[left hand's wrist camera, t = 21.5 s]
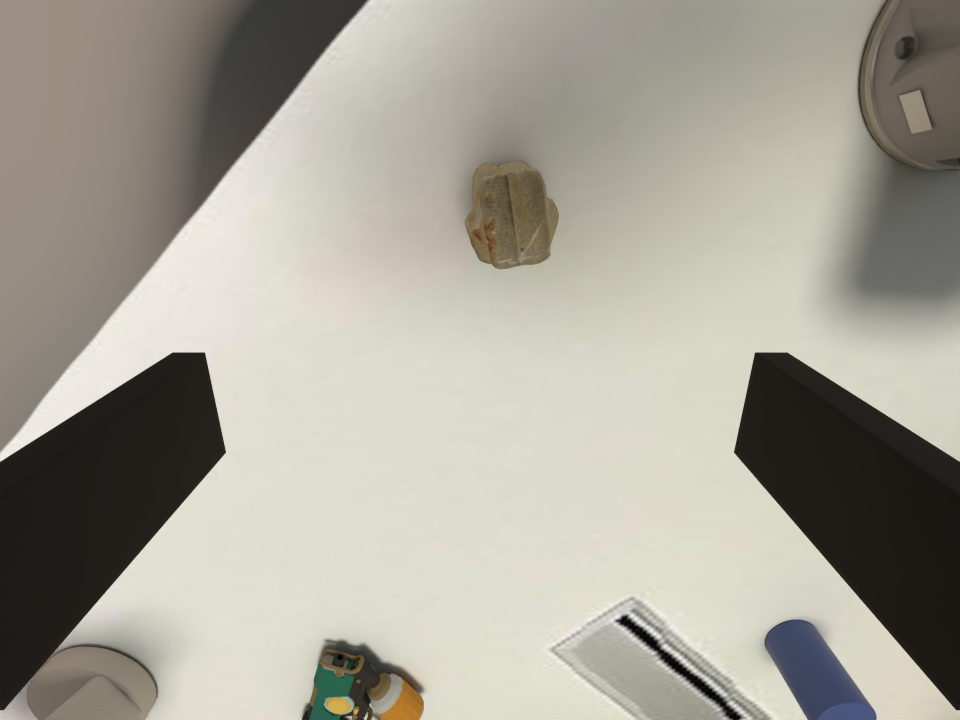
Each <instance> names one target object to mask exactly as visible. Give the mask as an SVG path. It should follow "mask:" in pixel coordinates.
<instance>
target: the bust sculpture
mask: <svg viewBox="0 0 960 720" xmlns="http://www.w3.org/2000/svg"><path fill="white" fill-rule="evenodd" d="M27 701H28V705H29V707H30V709H31V711H32V712H33V714H34V715H35V716H36V717H37V719H38V720H145V719H146V717H147V716H148V714H149V712H150V711H151V709H152V707H153V706H154V704H155V701H156V687H155V684H154V682H153V680H152V678H151V677H150V675H149V674H148V673H147V672H146V671H145V670H144V669H143V668H142V667H141V666H140V665H139V664H137V663H136V662H135V661H133V660H132V659H130V658H128V657H126V656H124V655H122V654H120V653H117V652H114V651H111V650H108V649H103V648H98V647H75V648H70V649H66V650H64V651H61V652H59V653H58V654H56V655H55V656H53V657H52V658H51V659H50V660H49V661H48V663H47V664H46V665H45V666H44V667H43V668H42V670H41V671H40V672H39V673H38V674H37V675H36V677H35V678H34V679H33V680H32V681H31V683H30V684H29V686H28V689H27Z"/></svg>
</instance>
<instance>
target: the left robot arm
mask: <svg viewBox="0 0 960 720" xmlns="http://www.w3.org/2000/svg"><path fill="white" fill-rule="evenodd" d="M860 96H861V105H862V111H863V114H864V118H865V121H866V123H867V126H868V128H869V130H870V132H871V134H872V136H873V138H874V139H875V140H876V142H877V143H878V144H879V145H880V147H881V148H882V149H883V150H884V151H885V152H887V153H888V154H889V155H890V156H892V157H893V158H895V159H896V160H898V161H900V162H902V163H904V164H907V165H909V166H913V167H916V168H921V169H929V170H960V0H888V2H887V3H886V5H885V6H884V8H883V10H882V12H881V14H880V15H879V17H878V19H877V21H876V23H875V26H874V28H873V30H872V32H871V35H870V38H869V40H868V43H867V47H866V50H865V54H864V58H863V63H862V69H861V77H860ZM225 453H226V451H225V446H224V441H223V436H222V432H221V427H220V422H219V417H218V413H217V408H216V403H215V398H214V394H213V389H212V384H211V379H210V375H209V370H208V365H207V360H206V356H205V353H171V354H170V355H168V356H167V357H165V358H163V359H162V360H160V361H159V362H157V363H156V364H154V365H152V366H151V367H149V368H148V369H146V370H145V371H143V372H141V373H140V374H138V375H137V376H135V377H134V378H132V379H130V380H129V381H127V382H126V383H124V384H122V385H121V386H119V387H118V388H116V389H115V390H113V391H111V392H110V393H108V394H107V395H105V396H104V397H102V398H100V399H99V400H97V401H96V402H94V403H92V404H91V405H89V406H88V407H86V408H85V409H83V410H81V411H80V412H78V413H77V414H75V415H74V416H72V417H70V418H69V419H67V420H66V421H64V422H62V423H61V424H59V425H58V426H56V427H55V428H53V429H51V430H50V431H48V432H47V433H45V434H44V435H42V436H40V437H39V438H37V439H36V440H34V441H32V442H31V443H29V444H28V445H26V446H25V447H23V448H21V449H20V450H18V451H17V452H15V453H14V454H12V455H10V456H9V457H7V458H6V459H4V460H3V461H1V462H0V710H4V709H5V708H6V707H7V706H8V704H9V703H10V702H11V701H12V700H13V699H14V698H15V696H16V695H17V694H18V693H19V692H20V691H21V689H22V688H23V687H24V686H25V685H26V684H27V682H28V681H29V680H30V679H31V678H32V677H33V676H34V674H35V673H36V672H37V671H38V670H39V669H40V667H41V666H42V665H43V664H44V663H45V662H46V660H47V659H48V658H49V657H50V656H51V655H52V653H53V652H54V651H55V650H56V649H57V648H58V647H59V645H60V644H61V643H62V642H63V641H64V640H65V638H66V637H67V636H68V635H69V634H70V633H71V631H72V630H73V629H74V628H75V627H76V626H77V625H78V623H79V622H80V621H81V620H82V619H83V618H84V616H85V615H86V614H87V613H88V612H89V611H90V609H91V608H92V607H93V606H94V605H95V604H96V602H97V601H98V600H99V599H100V598H101V597H102V596H103V594H104V593H105V592H106V591H107V590H108V589H109V587H110V586H111V585H112V584H113V583H114V582H115V580H116V579H117V578H118V577H119V576H120V575H121V574H122V572H123V571H124V570H125V569H126V568H127V567H128V565H129V564H130V563H131V562H132V561H133V560H134V558H135V557H136V556H137V555H138V554H139V553H140V551H141V550H142V549H143V548H144V547H145V546H146V545H147V543H148V542H149V541H150V540H151V539H152V538H153V536H154V535H155V534H156V533H157V532H158V531H159V529H160V528H161V527H162V526H163V525H164V524H165V523H166V521H167V520H168V519H169V518H170V517H171V516H172V514H173V513H174V512H175V511H176V510H177V509H178V507H179V506H180V505H181V504H182V503H183V502H184V500H185V499H186V498H187V497H188V496H189V495H190V494H191V492H192V491H193V490H194V489H195V488H196V487H197V485H198V484H199V483H200V482H201V481H202V480H203V478H204V477H205V476H206V475H207V474H208V473H209V472H210V470H211V469H212V468H213V467H214V466H215V465H216V463H217V462H218V461H219V460H220V459H221V458H222V456H223V455H224V454H225ZM734 453H735V454H736V455H737V456H738V458H739V459H740V460H741V461H742V462H743V463H744V465H745V466H746V467H747V468H748V469H749V470H750V472H751V473H752V474H753V475H754V476H755V477H756V478H757V480H758V481H759V482H760V483H761V484H762V485H763V487H764V488H765V489H766V490H767V491H768V492H769V494H770V495H771V496H772V497H773V498H774V499H775V500H776V502H777V503H778V504H779V505H780V506H781V507H782V509H783V510H784V511H785V512H786V513H787V514H788V516H789V517H790V518H791V519H792V520H793V521H794V523H795V524H796V525H797V526H798V527H799V528H800V529H801V531H802V532H803V533H804V534H805V535H806V536H807V538H808V539H809V540H810V541H811V542H812V543H813V545H814V546H815V547H816V548H817V549H818V550H819V551H820V553H821V554H822V555H823V556H824V557H825V558H826V560H827V561H828V562H829V563H830V564H831V565H832V567H833V568H834V569H835V570H836V571H837V572H838V574H839V575H840V576H841V577H842V578H843V579H844V580H845V582H846V583H847V584H848V585H849V586H850V587H851V589H852V590H853V591H854V592H855V593H856V594H857V596H858V597H859V598H860V599H861V600H862V601H863V602H864V604H865V605H866V606H867V607H868V608H869V609H870V611H871V612H872V613H873V614H874V615H875V616H876V618H877V619H878V620H879V621H880V622H881V623H882V625H883V626H884V627H885V628H886V629H887V630H888V631H889V633H890V634H891V635H892V636H893V637H894V638H895V640H896V641H897V642H898V643H899V644H900V645H901V647H902V648H903V649H904V650H905V651H906V652H907V653H908V655H909V656H910V657H911V658H912V659H913V660H914V662H915V663H916V664H917V665H918V666H919V667H920V669H921V670H922V671H923V672H924V673H925V674H926V676H927V677H928V678H929V679H930V680H931V681H932V682H933V684H934V685H935V686H936V687H937V688H938V689H939V691H940V692H941V693H942V694H943V695H944V696H945V698H946V699H947V700H948V701H949V702H950V703H951V705H952V706H953V707H954V708H955V709H956V710H960V462H959V461H957V460H956V459H954V458H953V457H951V456H950V455H948V454H946V453H945V452H943V451H942V450H940V449H939V448H937V447H935V446H934V445H932V444H931V443H929V442H928V441H926V440H924V439H923V438H921V437H920V436H918V435H916V434H915V433H913V432H912V431H910V430H909V429H907V428H905V427H904V426H902V425H901V424H899V423H898V422H896V421H894V420H893V419H891V418H890V417H888V416H886V415H885V414H883V413H882V412H880V411H879V410H877V409H875V408H874V407H872V406H871V405H869V404H868V403H866V402H864V401H863V400H861V399H860V398H858V397H856V396H855V395H853V394H852V393H850V392H849V391H847V390H845V389H844V388H842V387H841V386H839V385H838V384H836V383H834V382H833V381H831V380H830V379H828V378H826V377H825V376H823V375H822V374H820V373H819V372H817V371H815V370H814V369H812V368H811V367H809V366H808V365H806V364H804V363H803V362H801V361H800V360H798V359H796V358H795V357H793V356H792V355H790V354H789V353H755V356H754V360H753V365H752V370H751V375H750V379H749V384H748V389H747V394H746V398H745V403H744V408H743V413H742V417H741V422H740V427H739V432H738V436H737V441H736V446H735V451H734Z"/></svg>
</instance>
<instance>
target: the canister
mask: <svg viewBox="0 0 960 720" xmlns="http://www.w3.org/2000/svg"><path fill="white" fill-rule="evenodd" d="M765 646H766V649H767V651H768V652H769V654H770V656H771V658H772V659H773V661H774V663H775V664H776V666H777V668H778V669H779V671H780V673H781V675H782V676H783V678H784V680H785V681H786V683H787V685H788V687H789V688H790V690H791V692H792V693H793V695H794V697H795V699H796V700H797V702H798V704H799V705H800V707H801V709H802V711H803V712H804V714H805V716H806V717H807V719H808V720H876V713H875V711H874V709H873V708H872V706H871V705H870V704H869V702H868V701H867V699H866V698H865V697H864V695H863V694H862V692H861V691H860V690H859V688H858V687H857V685H856V684H855V683H854V681H853V680H852V678H851V677H850V676H849V674H848V673H847V671H846V670H845V669H844V667H843V666H842V664H841V663H840V662H839V660H838V659H837V657H836V656H835V655H834V653H833V652H832V650H831V649H830V648H829V646H828V645H827V643H826V642H825V641H824V639H823V638H822V636H821V635H820V634H819V632H818V631H817V629H816V628H815V627H814V626H813V625H812V624H810V623H808V622H806V621H801V620H792V621H787V622H784V623H781V624H779V625H778V626H776V627H774V628H773V629H772V630H771V631H770V632H769V633H768V635H767V637H766V640H765Z"/></svg>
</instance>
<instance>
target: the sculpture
mask: <svg viewBox="0 0 960 720" xmlns="http://www.w3.org/2000/svg"><path fill="white" fill-rule="evenodd" d="M473 207H474V211H472V212H471V213H470V214H469V215H468V217H467V218H466V220H465V225H466V229H467V232H468V234H469V237H470V240H471V244H472V246H473V248H474V250H475V252H476V254H477V256H478V258H479V260H481V261H482V262H485V263H488V264H492V265H493V266H494V267H495V268H497V269H507V268H512V267H515V266H520V265H531V264H538V263H541V262H542V261H544V260H546V259H547V258H548V257H549V256H550V244H551V242H552V239H553V236H554V233H555V230H556V227H557V223H558V218H559V214H558V210H557V207H556V205H555V203H554V201H553V200H552V199H549V198H547V195H546V188H545V184H544V181H543V178H542V176H541V174H540V173H539V171H538V170H535V169H531V167H530V166H529V164H527V163H525V162H520V161H512V162H509V163H503V164H501V165H500V166H499V167H498V166H497V165H496V164H495V163H487V164H483V165H481V166H480V167H479V168H478V169H477V170H476V171H475V174H474V177H473Z"/></svg>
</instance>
